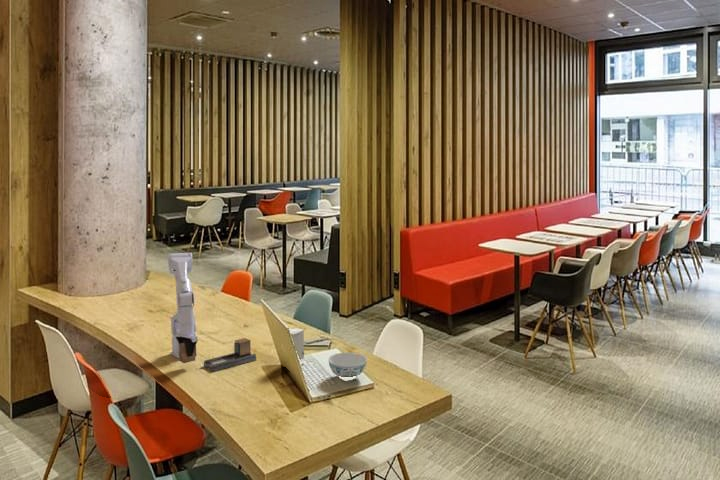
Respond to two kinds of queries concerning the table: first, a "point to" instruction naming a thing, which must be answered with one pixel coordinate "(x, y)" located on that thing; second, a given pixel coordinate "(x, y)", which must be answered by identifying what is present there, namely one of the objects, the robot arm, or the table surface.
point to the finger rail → (232, 357)
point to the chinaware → (347, 364)
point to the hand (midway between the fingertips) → (187, 354)
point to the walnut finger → (183, 355)
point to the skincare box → (298, 341)
